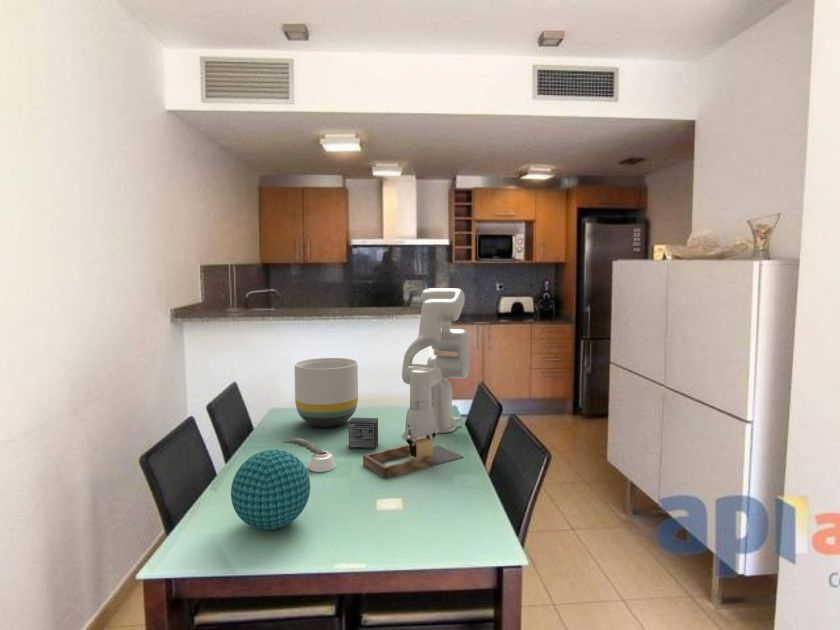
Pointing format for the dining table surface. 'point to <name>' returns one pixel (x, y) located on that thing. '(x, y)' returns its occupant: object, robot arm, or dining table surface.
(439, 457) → the charcoal mat
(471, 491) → the dining table surface
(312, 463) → the inkwell
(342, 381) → the planter
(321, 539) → the dining table surface
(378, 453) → the walnut cubby
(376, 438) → the small box
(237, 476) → the decorative ball
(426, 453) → the ochre cube
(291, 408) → the dining table surface
